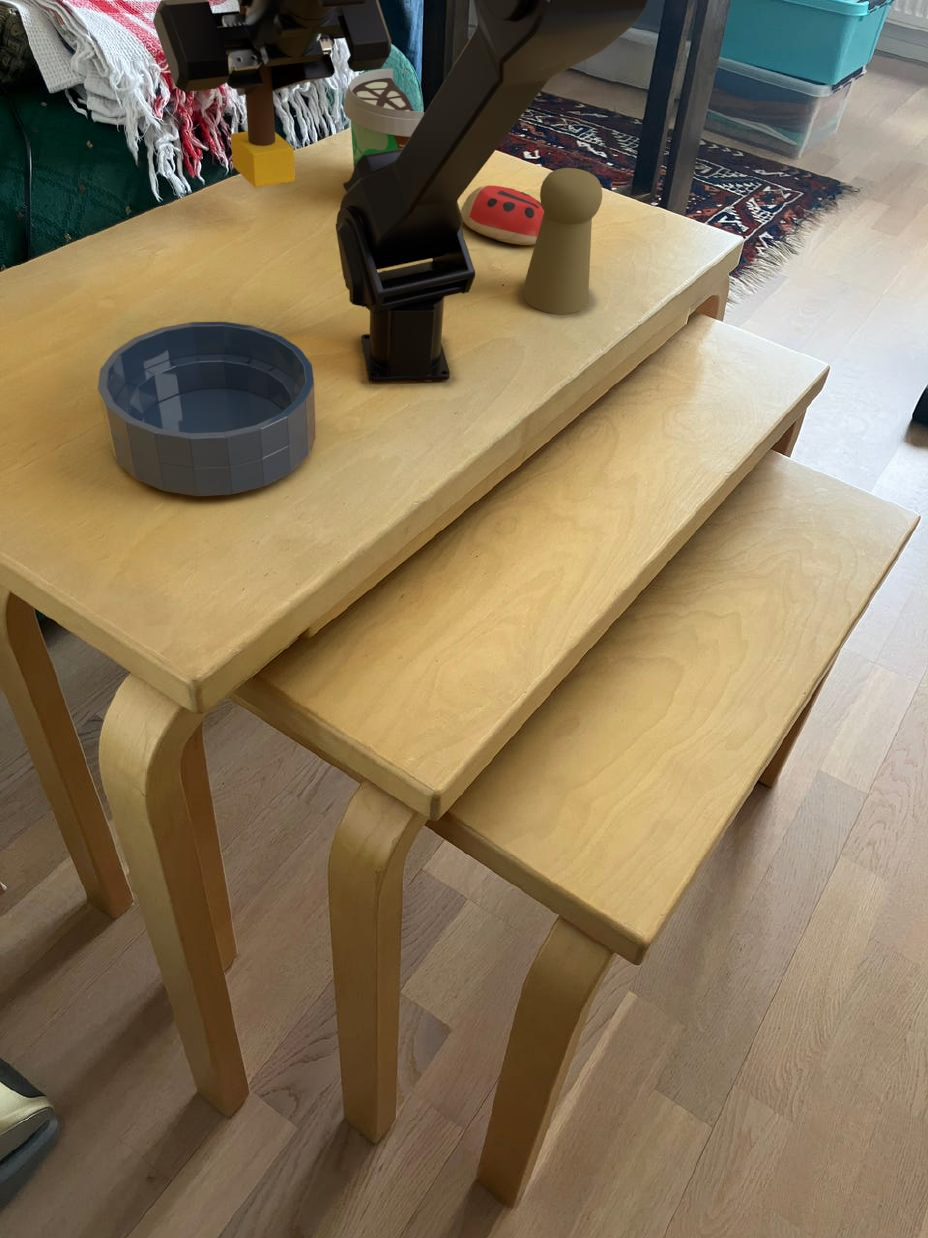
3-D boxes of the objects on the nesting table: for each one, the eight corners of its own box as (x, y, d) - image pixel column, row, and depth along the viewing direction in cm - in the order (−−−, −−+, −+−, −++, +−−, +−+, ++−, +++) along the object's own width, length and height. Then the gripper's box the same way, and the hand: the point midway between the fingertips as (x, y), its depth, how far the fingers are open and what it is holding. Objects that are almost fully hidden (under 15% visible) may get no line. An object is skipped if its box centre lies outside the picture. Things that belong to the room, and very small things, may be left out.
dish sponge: (295, 181, 94) (288, 10, 84) (254, 187, 92) (243, 14, 82) (272, 160, 97) (263, -7, 87) (232, 166, 95) (219, -4, 85)
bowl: (322, 500, 70) (320, 433, 66) (105, 510, 67) (90, 441, 63) (308, 383, 79) (306, 319, 75) (118, 388, 77) (105, 322, 73)
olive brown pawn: (510, 300, 91) (525, 176, 83) (538, 273, 95) (556, 152, 87) (572, 321, 89) (594, 196, 81) (598, 293, 93) (621, 171, 85)
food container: (332, 170, 107) (330, 67, 100) (388, 167, 109) (391, 66, 101) (359, 223, 99) (359, 115, 92) (420, 219, 101) (425, 113, 93)
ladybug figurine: (479, 205, 104) (482, 170, 101) (565, 233, 101) (571, 198, 98) (446, 228, 100) (448, 192, 97) (535, 258, 97) (540, 222, 94)
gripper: (378, -132, 79) (318, -12, 93) (143, -126, 71) (116, 4, 86) (423, 12, 80) (357, 109, 95) (198, 34, 73) (162, 136, 87)
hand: (252, 88), depth 90 cm, fingers closed on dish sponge, 2 cm apart
